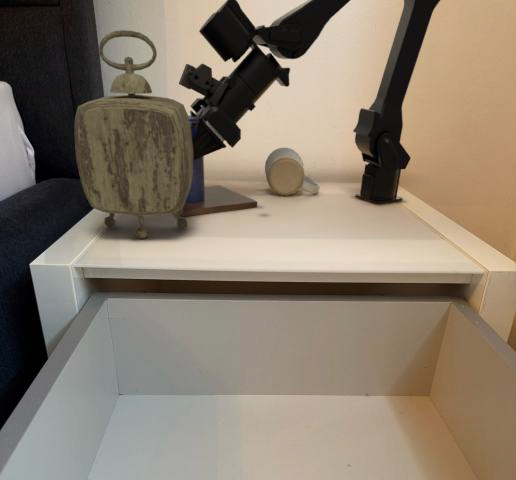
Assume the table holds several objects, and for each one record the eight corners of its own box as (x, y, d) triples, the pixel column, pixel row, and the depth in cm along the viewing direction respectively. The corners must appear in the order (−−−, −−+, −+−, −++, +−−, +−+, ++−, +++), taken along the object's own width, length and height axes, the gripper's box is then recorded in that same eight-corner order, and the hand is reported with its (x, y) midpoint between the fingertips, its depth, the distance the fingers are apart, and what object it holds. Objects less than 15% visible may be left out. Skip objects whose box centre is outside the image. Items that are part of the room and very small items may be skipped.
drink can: (208, 196, 89) (206, 116, 82) (200, 203, 84) (197, 119, 78) (178, 194, 90) (174, 115, 83) (169, 201, 85) (163, 118, 78)
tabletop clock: (196, 226, 76) (189, 34, 64) (191, 245, 69) (182, 30, 56) (100, 224, 76) (74, 30, 63) (84, 243, 68) (51, 26, 55)
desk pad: (219, 190, 98) (219, 185, 97) (257, 207, 87) (257, 201, 87) (151, 197, 91) (151, 192, 90) (183, 216, 81) (183, 210, 80)
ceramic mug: (265, 196, 94) (267, 153, 90) (263, 186, 101) (265, 146, 97) (321, 198, 94) (326, 155, 91) (315, 188, 102) (319, 148, 98)
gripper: (201, 44, 84) (140, 115, 87) (218, 42, 68) (143, 129, 71) (246, 97, 90) (187, 162, 93) (271, 106, 74) (199, 184, 77)
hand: (179, 159), depth 83 cm, fingers closed on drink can, 5 cm apart
